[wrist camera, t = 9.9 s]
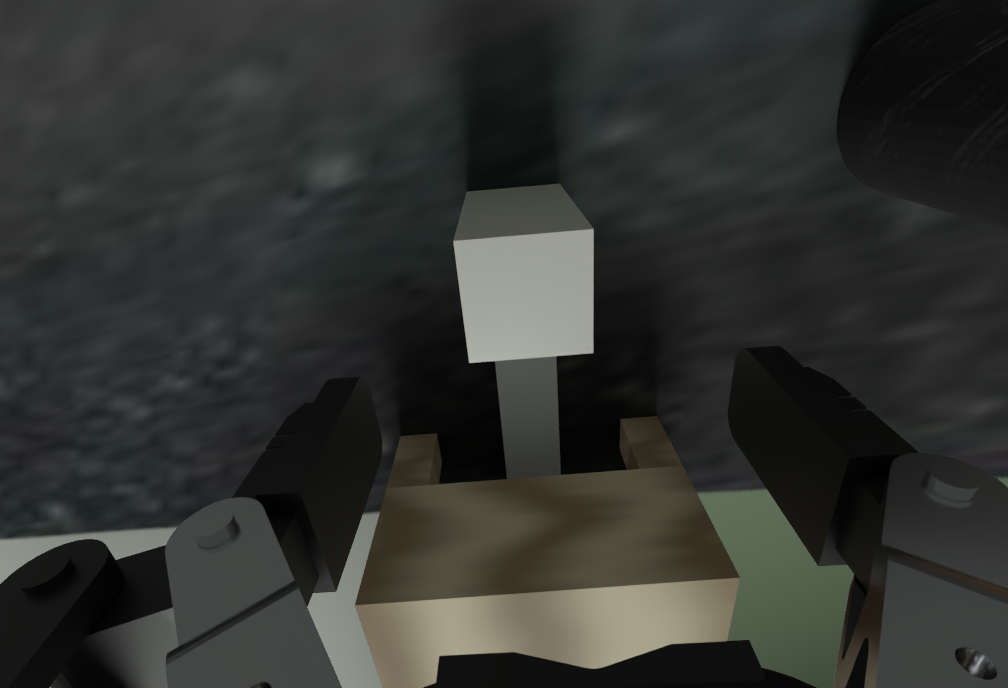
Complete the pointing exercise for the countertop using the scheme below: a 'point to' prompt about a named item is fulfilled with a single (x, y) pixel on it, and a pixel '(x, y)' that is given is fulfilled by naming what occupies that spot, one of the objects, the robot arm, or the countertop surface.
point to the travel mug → (935, 110)
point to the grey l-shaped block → (526, 307)
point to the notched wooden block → (542, 563)
